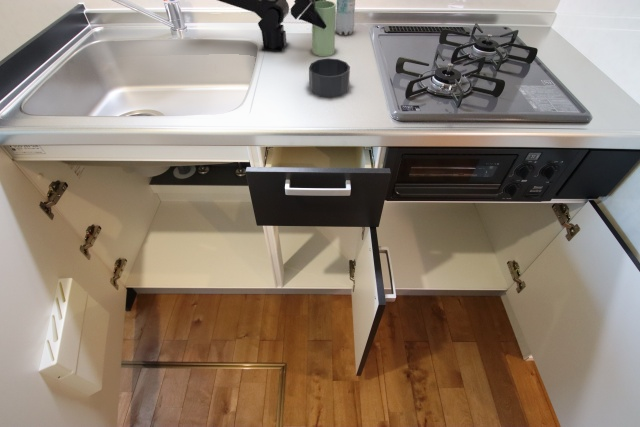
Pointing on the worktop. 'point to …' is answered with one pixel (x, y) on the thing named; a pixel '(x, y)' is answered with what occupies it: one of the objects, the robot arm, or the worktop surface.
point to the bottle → (345, 16)
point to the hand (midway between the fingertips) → (328, 21)
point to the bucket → (329, 77)
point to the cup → (324, 37)
